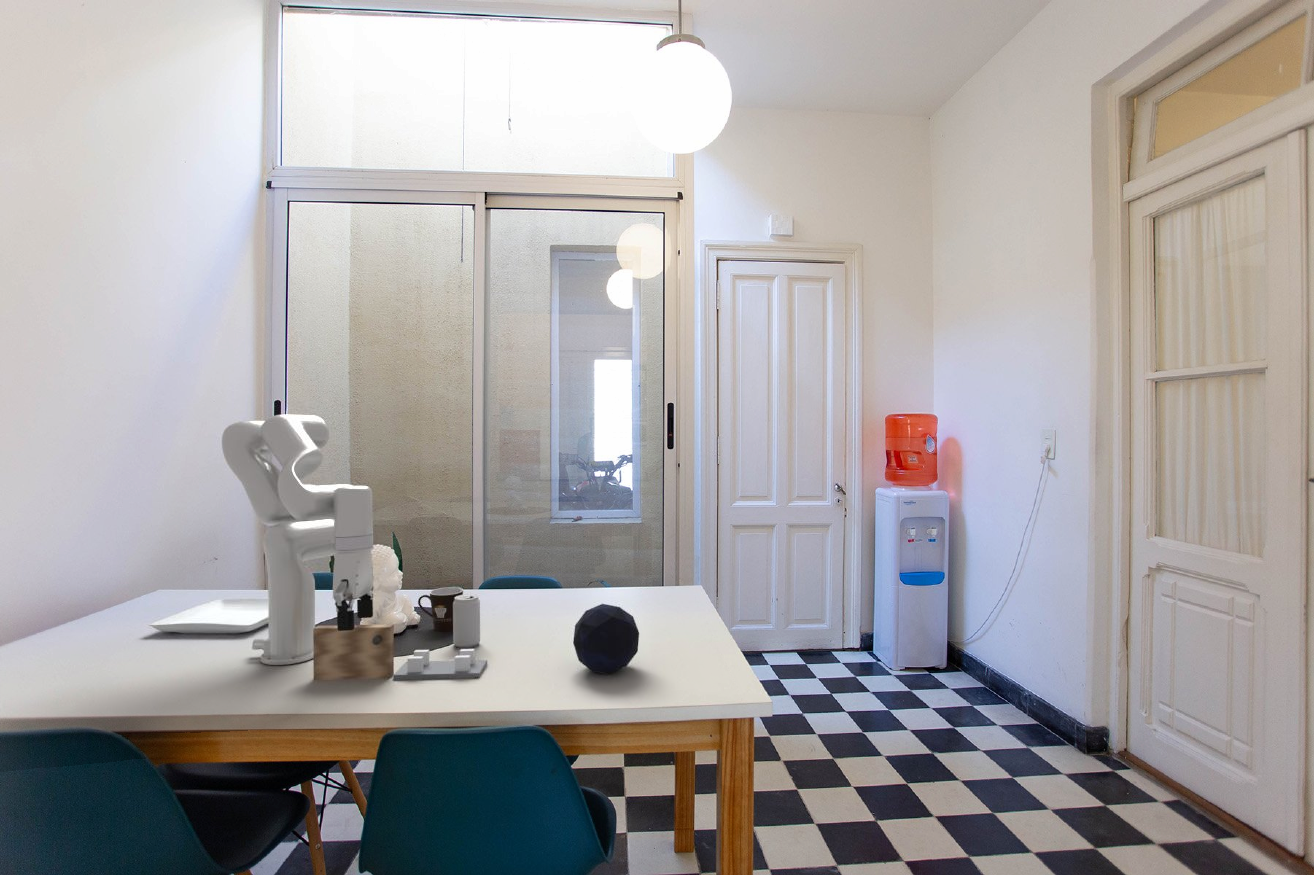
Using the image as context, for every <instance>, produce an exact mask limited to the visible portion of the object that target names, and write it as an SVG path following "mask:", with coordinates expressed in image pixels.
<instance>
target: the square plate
mask: <svg viewBox="0 0 1314 875" xmlns="http://www.w3.org/2000/svg"><path fill="white" fill-rule="evenodd" d="M266 625H268V597H256V598H255V597H246V598H245V597H244V598H243V597H241V598H219V599H215V600H212V601H209V602H207V603H203V604H200V605H197V606H193V607H192V608H189V609H186V610H184V611H180V612H178V613H175V614H173V615H169V616H167V617H165V618H162V619H160V620H158V621H155V622H152V623H149V624H148V626H149V627H151V628H154V629H156V630H157V631H159V632H160V631H161V632H165V633H166V632H167V633H179V634H241V633H247V632H248V633H249V632H252V631H255V630H258V629H260V628H261V627H264V626H266Z"/></svg>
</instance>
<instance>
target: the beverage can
mask: <svg viewBox="0 0 1314 875" xmlns="http://www.w3.org/2000/svg"><path fill="white" fill-rule="evenodd" d="M452 632H453V633H452V634H453V635H452V637H453V638H452V639H453V642H452V644H453V645H454V646H456V648H458V649H459V648H460V649H471V648H473V647H476V646H477V645H478V644H479V643H480V642H481V600H480V599H479V595H477V594H475V593H474V594H473V593H471V594H470V593H467V594H466V593H465V594H463V595H459V596H456V597H455V601H454V602H453V631H452Z"/></svg>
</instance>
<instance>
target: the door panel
mask: <svg viewBox="0 0 1314 875" xmlns="http://www.w3.org/2000/svg"><path fill="white" fill-rule="evenodd" d="M394 625H395V624H354V629H353V630H348V631H338V629H337V625H336V624H335V625H317V626H315V628H313V659H312V660H313V681H325V680H326V681H328V680H330V681H331V680H369V679H370V680H373V679H374V680H375V679H378V680H379V679H392V677H393V675H394V674H395V669H394V668H395V667H394V666H395V664H394V663H395V662H394V658H395V657H394V656H395V653H394V646H395V644H394V642H395V641H394V639H395V638H394V636H395V635H394V632H395V631H394V629H395V628H394V627H395V626H394Z"/></svg>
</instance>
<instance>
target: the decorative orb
mask: <svg viewBox="0 0 1314 875" xmlns="http://www.w3.org/2000/svg"><path fill="white" fill-rule="evenodd" d="M639 638H640V632H639V628H638V626H637V623H636V620H635V618H634V616H633V615H632V614H630V613H629V612H627V611H626V610H625V609H623V608H622V607H620V606H616V605H611V604H605V603H601V604H598V605H596V606H594V607H591V608H590V609H587V610H585V611H584V612H583V614H582V615H581V617H580V618H579V619H578V621H577V622H576V623H575V625H574V632H573V642H572V644H573V646H574V649H575V650H574V651H575V654H576V657H577V659H578V661H579V663H580V664H582V665H583V666H585V667H586V668H587V669H588V670H590V671H591V672H594V673H599V674H607V675H612V674H613V673H616V672H618V671H619V670H622V669H623V668H626V667H628V665H629V664H630V662H631V661H632V660H633V658H634V657H635V656H636V654H638V651H639V641H640V640H639Z"/></svg>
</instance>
